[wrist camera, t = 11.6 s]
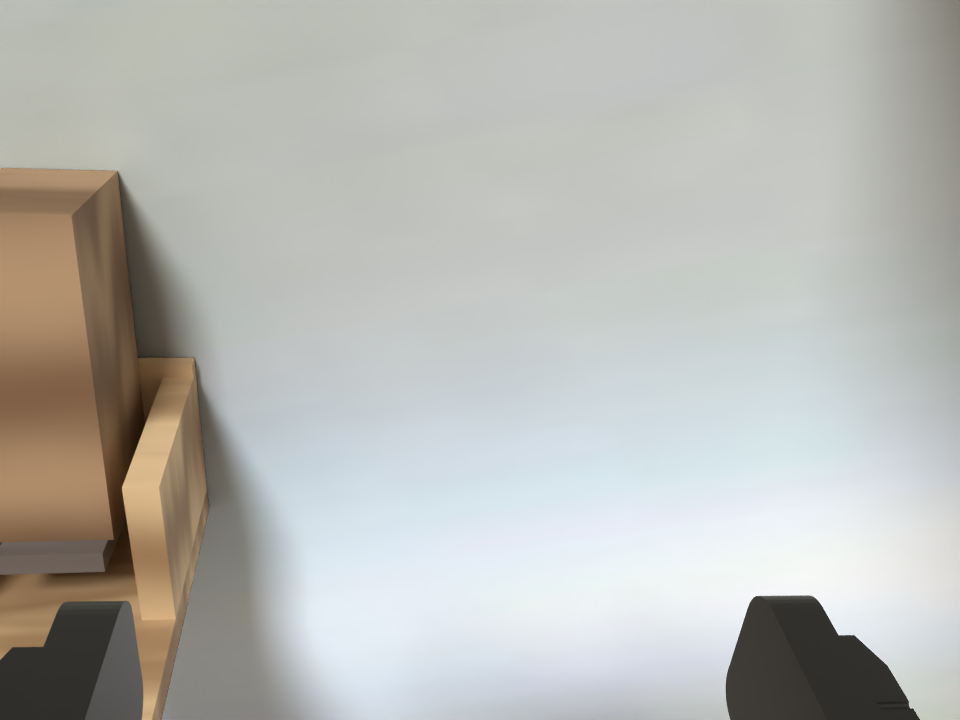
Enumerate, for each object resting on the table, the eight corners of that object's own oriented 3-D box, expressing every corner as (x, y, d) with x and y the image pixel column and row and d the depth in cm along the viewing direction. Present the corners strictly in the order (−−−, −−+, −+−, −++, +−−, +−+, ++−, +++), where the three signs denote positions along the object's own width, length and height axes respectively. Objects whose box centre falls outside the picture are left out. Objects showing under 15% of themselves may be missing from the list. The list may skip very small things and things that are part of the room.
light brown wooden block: (1, 167, 33) (-79, 220, 27) (117, 171, 34) (63, 222, 28) (50, 473, 38) (-8, 575, 32) (149, 471, 39) (110, 571, 33)
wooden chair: (-35, 357, 37) (-253, 639, 24) (204, 357, 38) (122, 626, 25) (3, 519, 40) (-166, 838, 27) (218, 514, 42) (154, 818, 29)
